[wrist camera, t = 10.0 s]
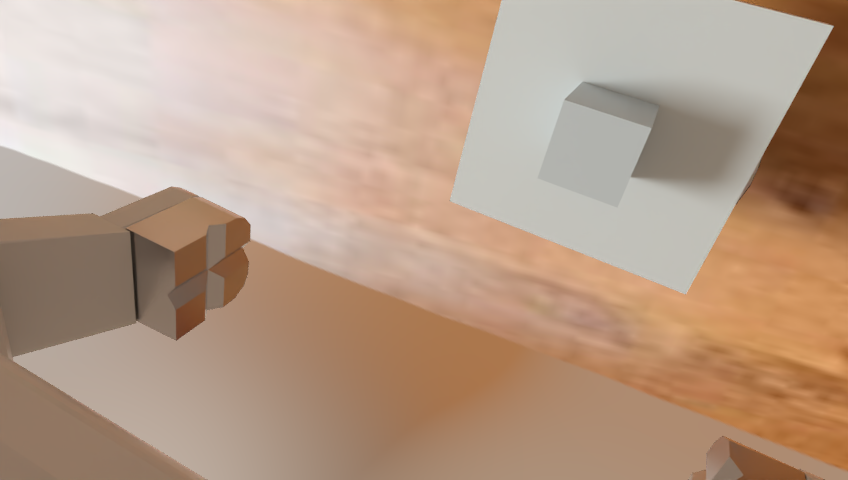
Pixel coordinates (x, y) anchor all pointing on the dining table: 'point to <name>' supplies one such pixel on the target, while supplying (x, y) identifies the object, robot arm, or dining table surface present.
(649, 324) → the dining table surface
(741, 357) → the dining table surface
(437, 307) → the dining table surface
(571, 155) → the lid
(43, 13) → the dining table surface
